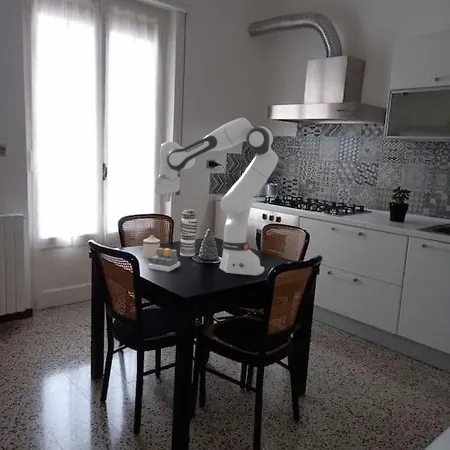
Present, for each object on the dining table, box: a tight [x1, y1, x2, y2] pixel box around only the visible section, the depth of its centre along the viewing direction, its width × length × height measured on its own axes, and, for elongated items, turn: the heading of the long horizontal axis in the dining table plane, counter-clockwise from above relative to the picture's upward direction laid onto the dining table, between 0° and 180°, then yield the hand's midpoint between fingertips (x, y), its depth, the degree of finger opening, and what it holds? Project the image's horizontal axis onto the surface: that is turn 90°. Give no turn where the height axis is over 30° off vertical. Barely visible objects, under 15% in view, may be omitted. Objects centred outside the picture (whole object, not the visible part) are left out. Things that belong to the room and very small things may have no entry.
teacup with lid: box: [142, 235, 161, 260], centre depth 236 cm, size 12×9×12 cm
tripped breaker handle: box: [163, 247, 172, 257], centre depth 219 cm, size 2×2×4 cm
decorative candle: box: [179, 208, 198, 257], centre depth 243 cm, size 9×9×25 cm
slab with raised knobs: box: [148, 247, 181, 272], centre depth 217 cm, size 11×12×8 cm
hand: (167, 201), depth 225 cm, fingers closed
